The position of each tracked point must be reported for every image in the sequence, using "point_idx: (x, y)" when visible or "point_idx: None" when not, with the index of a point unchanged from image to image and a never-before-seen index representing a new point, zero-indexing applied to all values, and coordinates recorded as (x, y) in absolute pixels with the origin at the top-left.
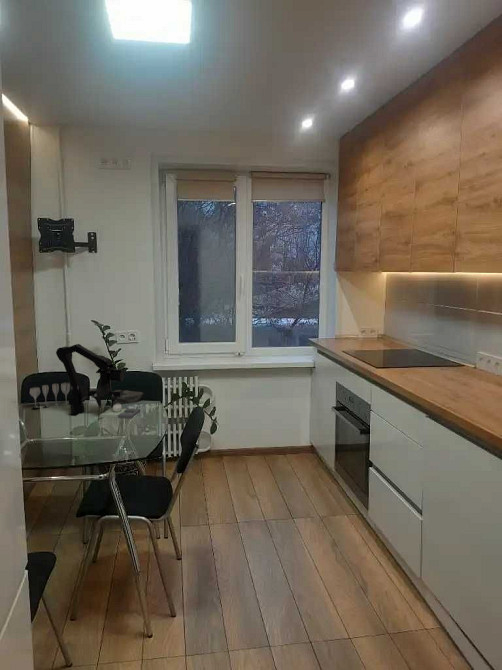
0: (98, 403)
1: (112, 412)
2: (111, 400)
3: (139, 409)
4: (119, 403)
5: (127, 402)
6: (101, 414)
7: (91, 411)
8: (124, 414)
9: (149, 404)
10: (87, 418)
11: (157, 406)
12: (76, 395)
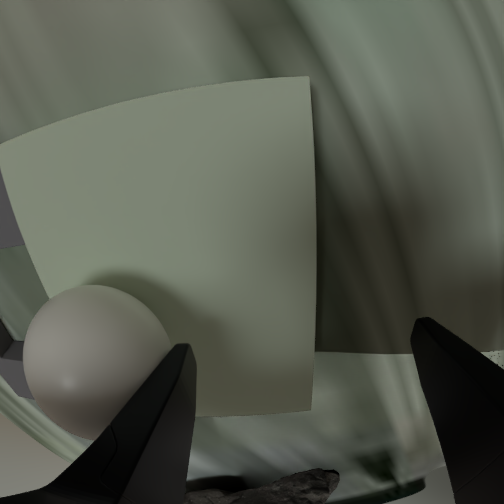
0: (480, 367)
1: (159, 268)
2: (123, 484)
3: (15, 389)
4: (286, 481)
5: (233, 493)
6: (290, 95)
7: (486, 320)
8: None
9: None
10: (461, 16)
11: (55, 451)
12: None
